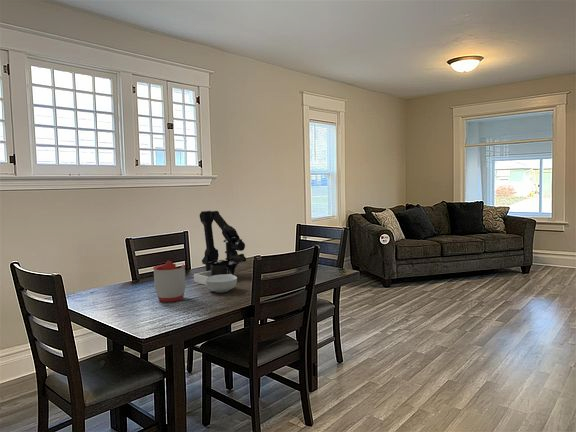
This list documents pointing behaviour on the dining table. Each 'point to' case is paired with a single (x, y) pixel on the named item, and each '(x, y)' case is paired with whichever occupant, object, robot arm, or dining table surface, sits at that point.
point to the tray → (202, 277)
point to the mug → (218, 270)
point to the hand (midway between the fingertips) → (232, 275)
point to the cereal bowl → (221, 282)
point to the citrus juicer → (169, 282)
